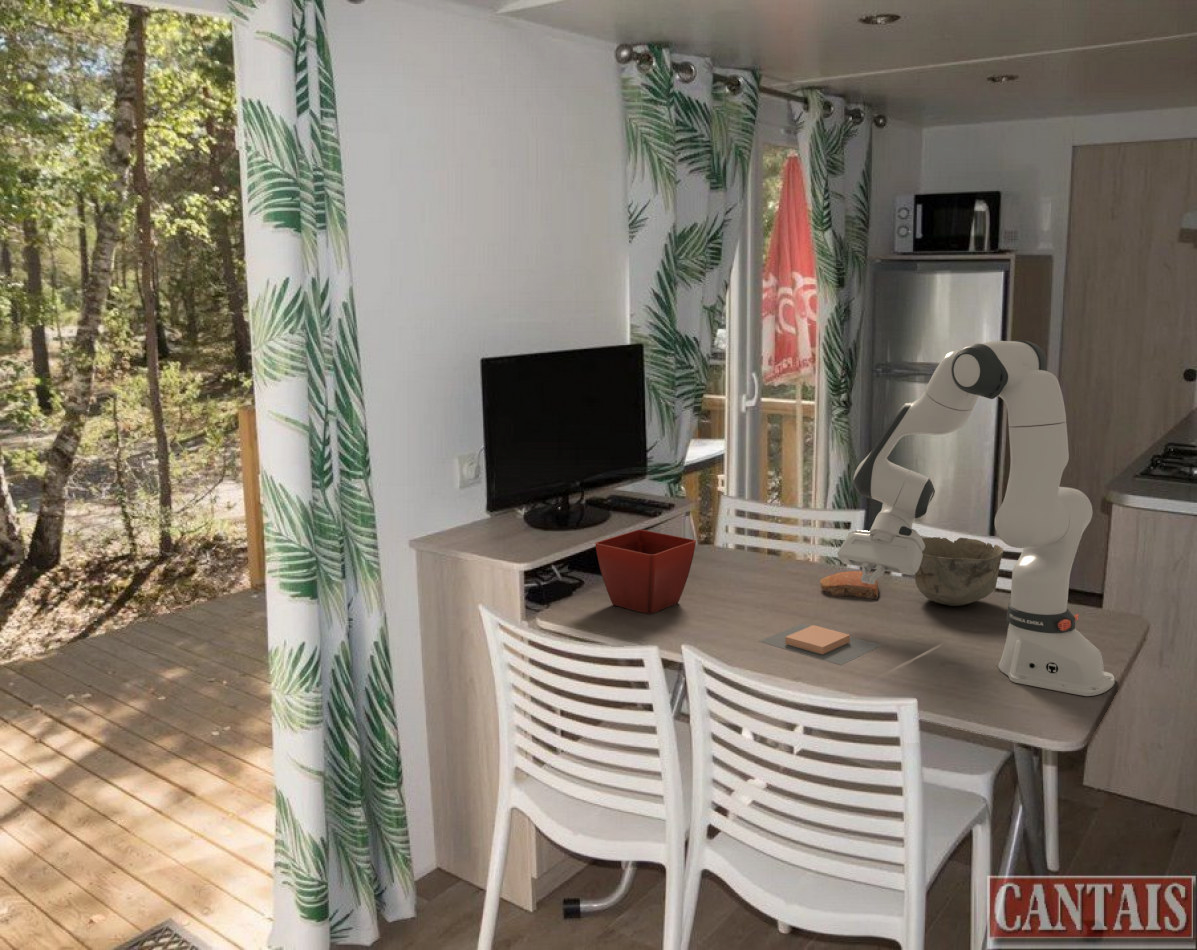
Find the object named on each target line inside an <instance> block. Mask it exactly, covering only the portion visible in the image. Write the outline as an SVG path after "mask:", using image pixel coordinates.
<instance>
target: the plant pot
mask: <svg viewBox="0 0 1197 950" xmlns="http://www.w3.org/2000/svg"><path fill="white" fill-rule="evenodd" d="M696 543H697V541H696V539H691V538H687V537H682V536H677V535H676V536H675V535H671V534H665V533H661V532H656V531H651V530H647V529H646V530H645V529H635V530H632V531H630V532H626V533H623V534H619V535H617V536H616V535H615V536H613V537H609V538H606V539H602V540H600V541H599V540H598V541H596V542H595V545H594V546H595V551H596V556H597V562H598V566H599V570H600V573H601V577H602V580H603V583H604V587H605V589H606V592H607V594H608V597H609V600H610V601H611V605H613V606H617V607H620V608H625V609H627V610H631V611H635V612H639V613H644V614H646V615H647V614H648V615H651V614H654V613H656V612H660V611H661V609H662V610H664V609H666V607H667V608H668V606H669V607H671V605H672V606H674V605H677V604H678V603H679V601H680V600H681V597H682V595H683V592H684V589H685V587H686V584H687V582H688V578H689V575H690V572H691V567H692V564H693V559H694V555H695V550H696ZM676 603H677V604H676ZM673 604H674V605H673Z"/></svg>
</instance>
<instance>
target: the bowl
mask: <svg viewBox="0 0 1197 950" xmlns="http://www.w3.org/2000/svg"><path fill="white" fill-rule="evenodd" d="M921 538H922V540H923V542H924V544H925V549H924V550H923V551H922V554H923V557H922V561H921V564H920V567H919V569H918V571H917V572H916V573H915V574H914V579H915V580H914V581H915V584H916V588H918V590H919V592H920V594H922V595H923V596H924V597H926V598H927V599H928V600H930V601H932V602H935V603H938V604H941V605H944V604H945V606H949V607H950V606H951V607H958V606H964V605H965V606H966V605H968V604H971V603H975V602H977V601H980V600H982V599H984V598H987V597H988V596H989V595H991V593H993V592H994V591H995V589H996V587H997V583H998V578H999V571H1000V566H1001V564H1002V563H1001V561H1002V558H1003V556H1004V548H1003V547H1001V546H999V545H997V544H994V546H993V545H992V543H990V542H984V541H982V540H979V539H975V538H966V537H959V538H956V540H954V541H951V540H949V539H948V538H947V537H942V538H941V537H940V536H938V537H937V536H936V537H935V536H934V537H931V536H930V537H921Z"/></svg>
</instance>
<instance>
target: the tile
mask: <svg viewBox="0 0 1197 950" xmlns="http://www.w3.org/2000/svg"><path fill="white" fill-rule="evenodd" d="M809 626H810V627H808V628H805V629H803V630H800V631H798V632H796V633H793V634H791V635H789V636H786V637H785V644H787V645H789V646H792V647H796V648H799V649H803V650H807V651H810V652H814V653H817V654H821V655H823V654H825V653H827V652H829V651H832V650H834V649H836V648H838V647H840V646H843V645H845V644H847V643H849V642H850V637H851V634H848V633H844V632H840V631H837V630H833V629H829V628H825V627H823V626H817V625H813V624H812V625H809Z"/></svg>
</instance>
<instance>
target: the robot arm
mask: <svg viewBox="0 0 1197 950" xmlns="http://www.w3.org/2000/svg"><path fill="white" fill-rule="evenodd" d="M1047 359H1048V358H1047V357H1046V354H1045V352H1044V350H1043V349H1042V348H1041V347H1040V346H1039V345H1038V344H1035V343H1033V342H1031V341H1027V340H1010V341H1009V340H1005V341H1004V340H994V341H993V340H992V341H986V342H982V343H974V344H970V345H968V346H965V347H964V348H962V349H957V350H956V349H955V350H952V351H949V352H948V353H947V354H946V355H944V357H943V358H942V360H941V361H940V363H939V364H938V365H937V367H936V368H935V370H934V372H933V374H932V376H931V378H929V381H928V383H927V385H926V388H925V389H924V392H923V394H922V395H921V396H920V397H919V398H918V399H916V400H915V401H913V402H912V401H911V402H906V403H904V404H903V405H902V406H901V407H900V408H899V410H898V411H897V412H896V414H894V416H893V418H892V419H891V421H890V422H889V423H888V425H887V427H886V428H885V429H884V430H883V433H882V434H881V435H880V437H879V438H878V440H877V441H876V443H875V444H874V446H873V447H872V449H871V450H870V452H869V454H867V456H866V457H865V458H864V459H863V460H862V461H861V462H860V463H859V465H858V466H857V468H856V469H855V472H854V474H853V478H852V479H853V481H852V483H853V486H854V489H856V491H857V493H858V494H859V496H862V497H865V498H869V499H871V500H875V501H878V502H880V503H882V506H881V510H880V511H879V512H878V513H877V515H876V516H875V519H874V521H873V523H872V526H871V527H870V529H869V531H868V530H860V529H856V530H854V531H851V532H849V533H848V535H847V536H846V538H845V540H844V541H843V542H842V544H841V545H840V547H839V549H838V551H837V557H838V559H839V560H840V562H841V563H842V564H844V565H849V566H854V567H861V570H862V572H863V574H862V577H861V581H862V582H863V583H868V584H873V585H874V584H875V581H876V579H877V580H878V579H879V578H880V577H882V576H883V575H885V572H892V573H896V574H904V575H908V576H913V575H915V573H916V572H917V571H918V569H919V567H920V564H921V561H922V557H923V554H922V551H923V550H924V549H925V544H924V542H923V540H922V538H923V537H922V536H920V533H919V532H917V530H916V529H914V528H913V524H914V522H915V521H916V520H917V519H919V518H921V517H923V516H925V515H926V514H927V511H928V508H929V504H930V503H931V501H932V500H933V498H934V496H935V492H936V490H935V487H934V484H933V482H932V480H931V478H929V477H927V476H926V475H924V474H921V473H919V472H917V471H914V470H911V469H908V468H906V467H903V466H902V465H898V464H895V463H894V462H891V461H890V460H889V459H888V457H889V456H890V455H891V452H892V451H893V450H894V449H895V446H896V445H897V444H898V442H899V441H900V440H901V439H902V438H903V437H905V436H909V435H932V436H933V435H934V436H937V435H938V436H939V435H947V434H951V433H954V432H956V431H958V430H959V429H960V428H962V427H963V426H964V425H965V424H966V422H967V421H968V418H969V417H970V416H971V414H972V412H973V410H974V408H975V405H976V403H977V400H978V398H979V397H983V398H987V399H990V400H994V399H996V398H997V397H999V398H1001V399H1002V401H1003V402H1004V403H1005V405H1006V408H1007V409H1006V410H1007V419H1008V420H1007V421H1008V422H1007V424H1008V435H1009V436H1008V437H1009V452H1010V454H1009V455H1010V465H1009V466H1010V467H1009V474H1008V480H1007V486H1006V491H1005V494H1004V498H1003V501H1002V503H1001V505H1000V507H999V508H998V510H997V512H996V513H995V517H994V528H995V532H996V534H997V536H998V538H999V539H1000V540H1001V542H1003V543H1004V544H1005V545H1007V546H1009V547H1011V548H1015V549H1022V552H1021V554H1020V555H1019V557H1018V560H1017V561H1016V562H1015V563H1014V565H1013V568H1012V572H1011V587H1010V589H1011V590H1010V591H1011V592H1010V602H1009V603H1008V605H1007V614H1006V628H1007V633H1006V639H1005V645H1004V647H1003V652H1002V656H1000V657H1001V658H1000V661H999V663H998V669H999V670H1000V671H1001V672H1002V673H1003V674H1005V675H1006V676H1008V679H1009V681H1011V682H1013V683H1016V684H1020V685H1026V686H1030V687H1037V688H1042V689H1046V690H1051V691H1056V692H1061V693H1062V692H1063V693H1068V694H1073V695H1077V696H1084V697H1091V696H1092V697H1093V696H1097V695H1101V694H1103V693H1106V692H1107V691H1108V690H1110V689H1112V688H1113V686H1115V675H1113V673H1111V672H1108V671H1104V660H1103V656H1102V652H1101V650H1100V649H1098V648H1097V647H1096V646H1095V645H1094V644H1093V643H1091V641H1090V640H1089V639H1087V638H1086V637H1085V636H1084V635H1083V634H1082V633H1081V632H1080V631H1078V630H1077V629H1076V622H1077V621H1078V620H1079V615H1080V614H1079V613H1077V614H1074V615H1073V613H1071V611H1070V610H1069V608H1068V600H1069V599H1068V598H1069V587H1070V579H1071V572H1072V567H1073V564H1074V561H1075V557H1076V554H1077V551H1078V547H1079V545H1080V541H1081V540H1082V536H1083V533H1084V532H1085V530H1086V529H1087V527H1088V526H1089V524H1090V522H1091V520H1092V518H1093V506H1092V502H1091V501H1090V498H1088V496H1087V495H1086V493H1084V492H1082V491H1081V490H1079V489H1077V488H1073V487H1067V486H1060V485H1061V480H1062V476H1063V474H1064V471H1065V469H1066V468H1067V467H1066V466H1067V465H1068V462H1069V458H1070V455H1069V442H1068V441H1069V439H1068V427H1067V425H1068V424H1067V413H1066V407H1065V403H1064V395H1063V393H1062V388H1061V386H1060V382H1059V379H1058V377H1056V375H1055V374H1054V373H1052V372H1049V371H1048V370H1047V368H1048V360H1047ZM872 569H873V570H874V571H873V572H872V573H870V574H868V573H869V572H871V570H872ZM871 574H872V575H871Z"/></svg>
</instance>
